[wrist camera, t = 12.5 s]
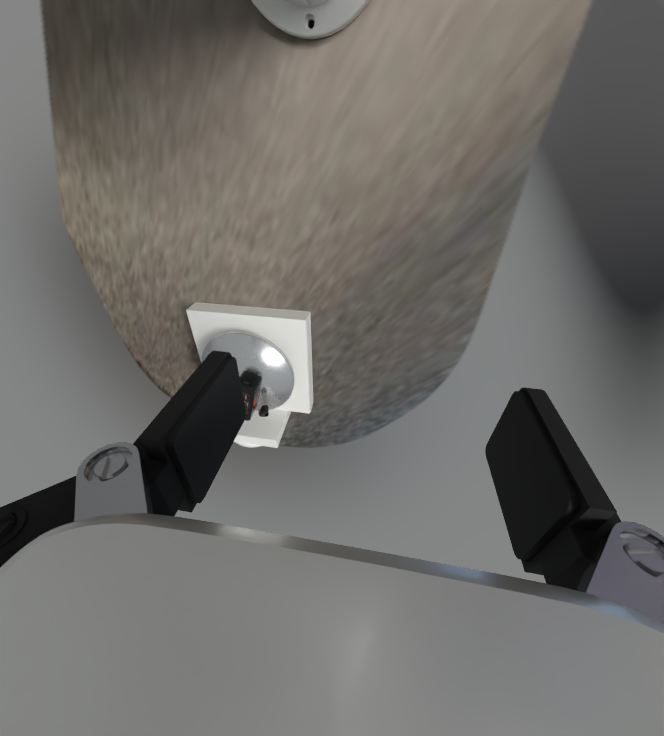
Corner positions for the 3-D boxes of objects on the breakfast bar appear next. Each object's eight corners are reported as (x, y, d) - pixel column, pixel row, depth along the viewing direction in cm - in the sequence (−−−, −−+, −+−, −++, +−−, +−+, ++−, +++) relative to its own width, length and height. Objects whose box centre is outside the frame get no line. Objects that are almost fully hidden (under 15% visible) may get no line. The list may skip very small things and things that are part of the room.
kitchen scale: (195, 302, 42) (156, 333, 35) (310, 311, 40) (292, 347, 33) (222, 401, 53) (195, 440, 46) (313, 412, 51) (300, 455, 44)
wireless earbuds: (239, 403, 46) (230, 419, 43) (244, 367, 42) (234, 382, 39) (269, 413, 46) (262, 429, 43) (277, 378, 42) (269, 393, 39)
